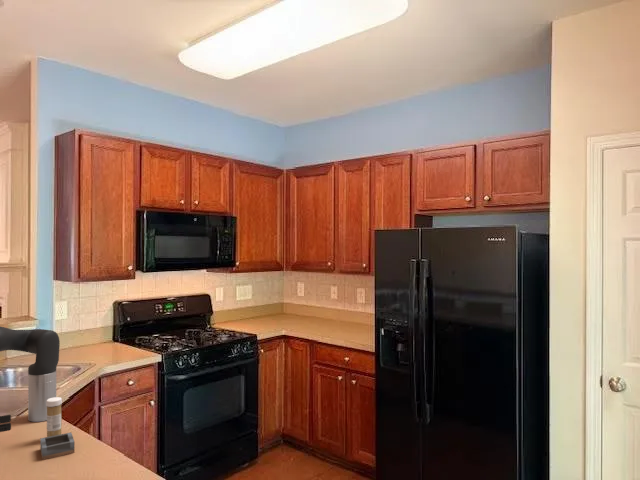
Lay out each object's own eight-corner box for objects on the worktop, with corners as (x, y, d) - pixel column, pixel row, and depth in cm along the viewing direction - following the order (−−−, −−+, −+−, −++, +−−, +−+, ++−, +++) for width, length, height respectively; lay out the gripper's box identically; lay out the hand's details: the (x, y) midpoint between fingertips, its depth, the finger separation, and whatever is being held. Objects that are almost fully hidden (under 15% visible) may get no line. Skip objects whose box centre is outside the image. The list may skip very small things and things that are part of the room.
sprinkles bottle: (61, 434, 164) (61, 395, 164) (62, 439, 160) (62, 399, 160) (46, 437, 162) (46, 398, 162) (46, 442, 158) (46, 402, 158)
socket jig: (40, 449, 152) (40, 438, 152) (71, 442, 157) (71, 432, 157) (42, 459, 145) (42, 448, 145) (74, 452, 150) (74, 441, 150)
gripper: (-55, 428, 139) (11, 417, 148) (-51, 413, 151) (10, 404, 160) (-55, 453, 139) (11, 441, 148) (-51, 437, 151) (10, 426, 160)
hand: (10, 422), depth 154 cm, fingers open, 8 cm apart
